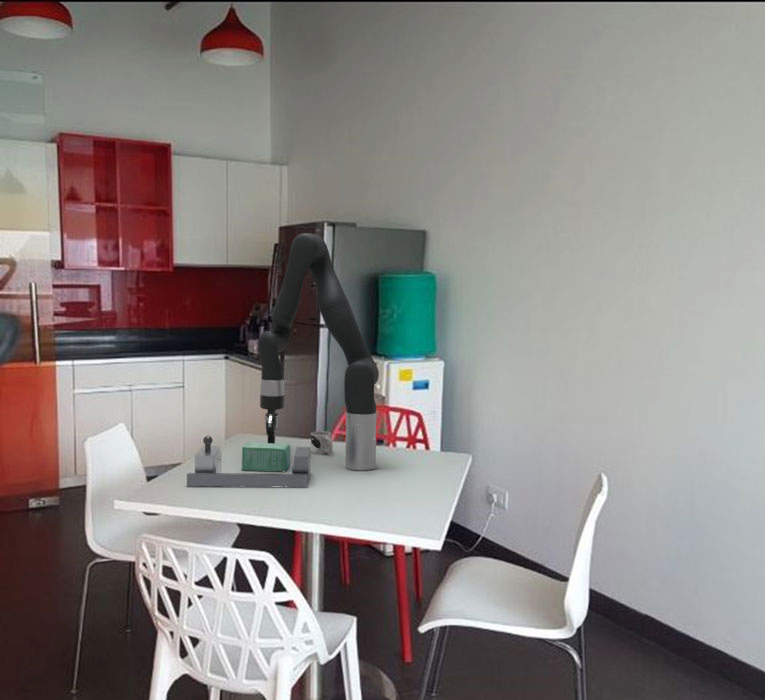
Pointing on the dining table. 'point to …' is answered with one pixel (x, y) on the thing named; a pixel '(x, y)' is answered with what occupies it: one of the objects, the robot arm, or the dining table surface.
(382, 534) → the dining table surface
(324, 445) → the mug
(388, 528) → the dining table surface
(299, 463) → the vise
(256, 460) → the box
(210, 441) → the sliding jaw
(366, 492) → the dining table surface
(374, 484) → the dining table surface
